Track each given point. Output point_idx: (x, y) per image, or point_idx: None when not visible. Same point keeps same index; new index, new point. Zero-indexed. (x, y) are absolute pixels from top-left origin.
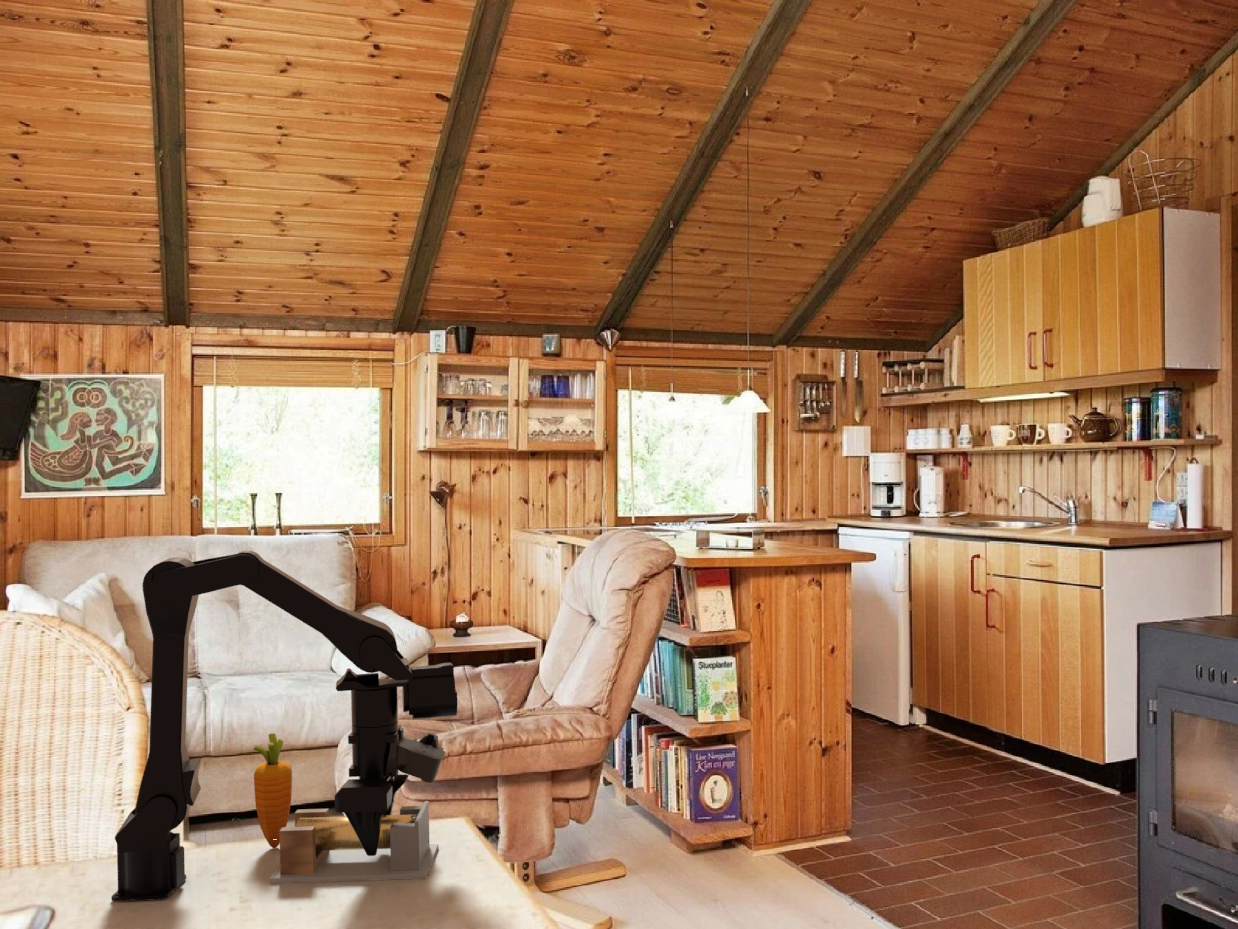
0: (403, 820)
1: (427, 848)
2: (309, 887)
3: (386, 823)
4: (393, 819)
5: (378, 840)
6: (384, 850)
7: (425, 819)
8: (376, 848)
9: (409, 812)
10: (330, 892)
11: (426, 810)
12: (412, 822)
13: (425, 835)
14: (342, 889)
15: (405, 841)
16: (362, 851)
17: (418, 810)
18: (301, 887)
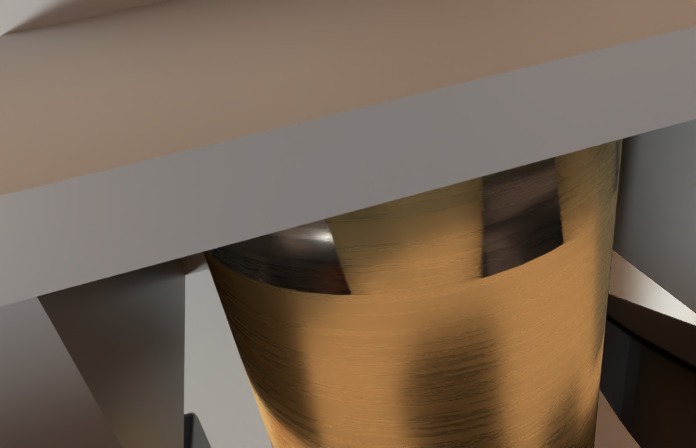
0: (596, 306)
1: (132, 11)
2: (614, 417)
3: (591, 441)
4: (570, 428)
5: (672, 341)
6: (193, 345)
7: (233, 62)
8: (644, 309)
9: (127, 418)
10: (682, 320)
11: (71, 136)
12: (617, 162)
13: (249, 12)
14: (661, 290)
15: None
16: (239, 444)
17: (61, 317)
18: (609, 441)
